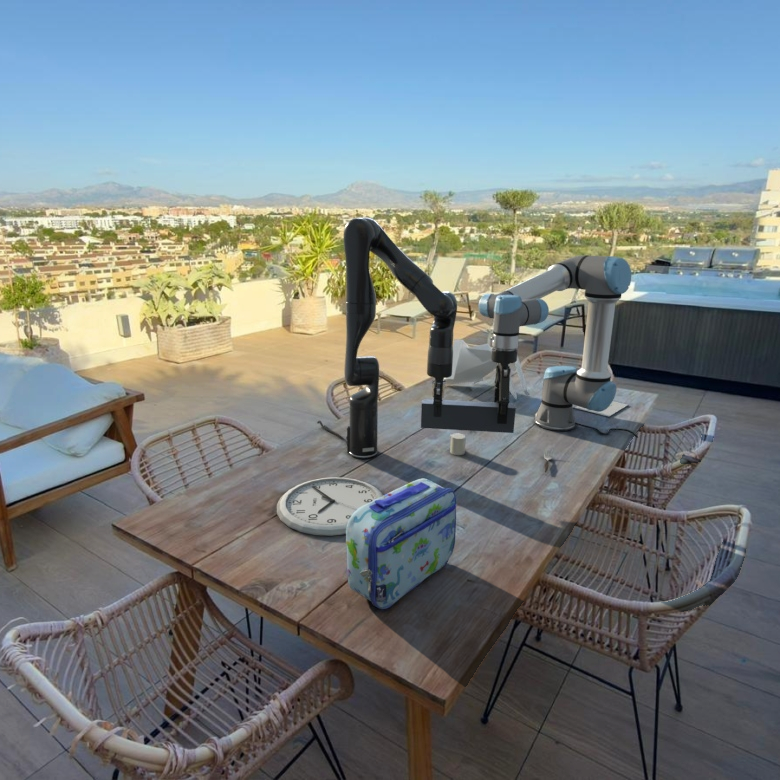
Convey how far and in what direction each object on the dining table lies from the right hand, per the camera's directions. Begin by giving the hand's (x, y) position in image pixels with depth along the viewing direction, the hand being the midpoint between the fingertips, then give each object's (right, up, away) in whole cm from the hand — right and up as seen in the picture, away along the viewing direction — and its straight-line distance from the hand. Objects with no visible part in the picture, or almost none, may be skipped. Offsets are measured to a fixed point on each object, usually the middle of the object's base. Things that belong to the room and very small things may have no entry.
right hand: (499, 415), depth 161 cm
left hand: (-19, +1, 0) cm, 19 cm away
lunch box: (-31, -33, -48) cm, 67 cm away
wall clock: (-50, -24, -19) cm, 58 cm away
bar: (-10, -4, 0) cm, 11 cm away
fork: (+17, -16, +9) cm, 25 cm away
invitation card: (+58, +1, +65) cm, 87 cm away
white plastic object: (+8, +7, +82) cm, 82 cm away
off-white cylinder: (-11, -13, +17) cm, 24 cm away
